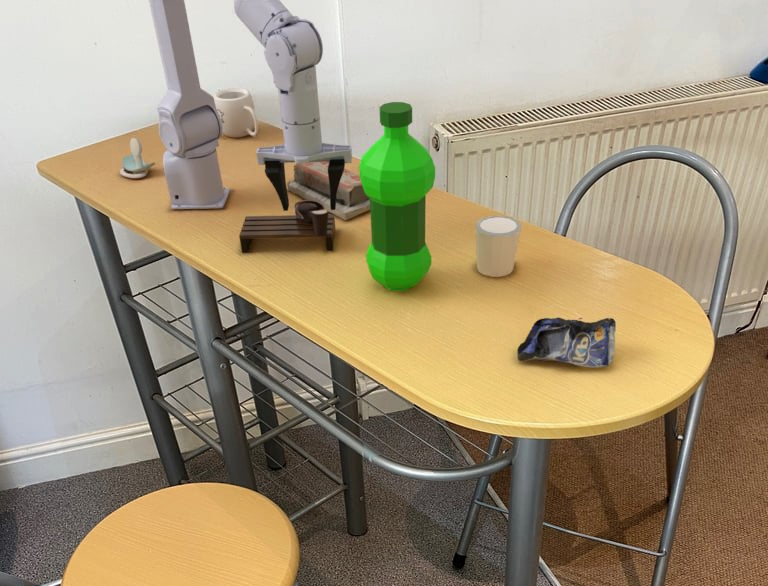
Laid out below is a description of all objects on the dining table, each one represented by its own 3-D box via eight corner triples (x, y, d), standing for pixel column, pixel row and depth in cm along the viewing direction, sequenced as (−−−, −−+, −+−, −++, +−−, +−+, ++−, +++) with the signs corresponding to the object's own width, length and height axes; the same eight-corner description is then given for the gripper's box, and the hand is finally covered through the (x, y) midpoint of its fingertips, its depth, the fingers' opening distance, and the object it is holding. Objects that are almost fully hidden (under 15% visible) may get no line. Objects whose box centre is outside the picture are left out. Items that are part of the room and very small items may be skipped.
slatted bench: (242, 252, 125) (239, 235, 123) (248, 233, 130) (245, 216, 128) (332, 251, 125) (331, 233, 123) (335, 231, 130) (334, 214, 128)
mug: (210, 134, 163) (202, 94, 158) (241, 123, 167) (235, 84, 162) (243, 148, 157) (237, 107, 151) (275, 136, 161) (270, 96, 155)
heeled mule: (315, 207, 130) (313, 184, 127) (338, 234, 122) (337, 210, 120) (290, 212, 128) (288, 190, 126) (312, 240, 121) (310, 216, 118)
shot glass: (521, 260, 121) (525, 217, 116) (512, 281, 116) (516, 237, 111) (479, 254, 122) (481, 212, 117) (468, 275, 118) (470, 232, 113)
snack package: (563, 394, 96) (627, 359, 101) (563, 348, 92) (630, 314, 97) (500, 365, 105) (562, 333, 109) (497, 322, 101) (561, 291, 105)
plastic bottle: (423, 262, 121) (424, 90, 103) (438, 296, 114) (442, 117, 96) (361, 269, 120) (351, 97, 102) (372, 303, 113) (363, 125, 95)
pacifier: (137, 183, 147) (161, 172, 150) (127, 150, 142) (152, 139, 145) (114, 174, 150) (138, 163, 153) (103, 142, 145) (128, 131, 148)
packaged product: (282, 164, 138) (326, 149, 143) (285, 191, 142) (328, 175, 146) (343, 194, 128) (388, 177, 133) (345, 222, 132) (389, 205, 136)
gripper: (248, 129, 111) (262, 219, 121) (347, 126, 110) (353, 217, 120) (255, 112, 116) (267, 200, 126) (350, 109, 115) (355, 198, 125)
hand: (309, 207), depth 123 cm, fingers open, 7 cm apart
